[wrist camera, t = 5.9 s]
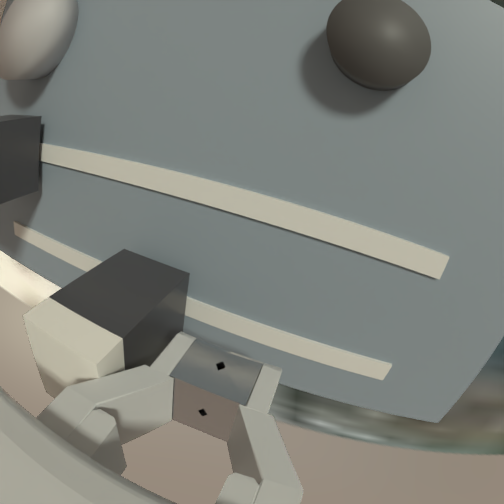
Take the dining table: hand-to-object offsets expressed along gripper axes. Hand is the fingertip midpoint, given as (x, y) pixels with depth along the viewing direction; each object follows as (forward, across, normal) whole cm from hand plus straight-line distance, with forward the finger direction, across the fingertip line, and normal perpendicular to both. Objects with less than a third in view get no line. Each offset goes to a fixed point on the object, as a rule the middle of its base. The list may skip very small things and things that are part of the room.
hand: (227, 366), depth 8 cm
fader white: (+2, +3, 0) cm, 4 cm away
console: (+4, +4, -5) cm, 7 cm away
